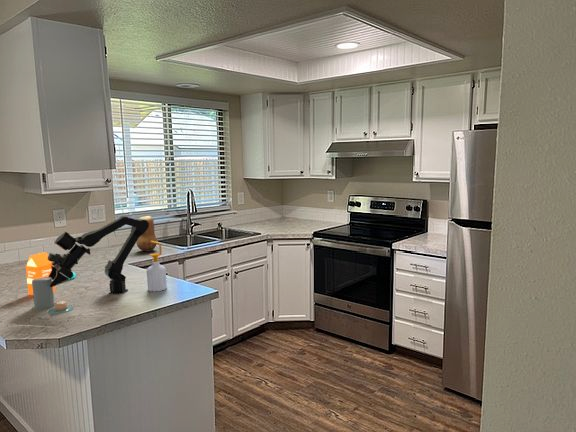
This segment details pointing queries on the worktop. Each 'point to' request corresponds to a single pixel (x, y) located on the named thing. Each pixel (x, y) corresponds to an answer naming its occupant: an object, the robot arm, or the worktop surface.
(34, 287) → the grey canister
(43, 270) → the orange juice
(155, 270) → the soap bottle
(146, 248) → the butternut squash
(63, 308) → the teal disc stand
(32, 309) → the mat
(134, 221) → the robot arm
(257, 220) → the worktop surface
